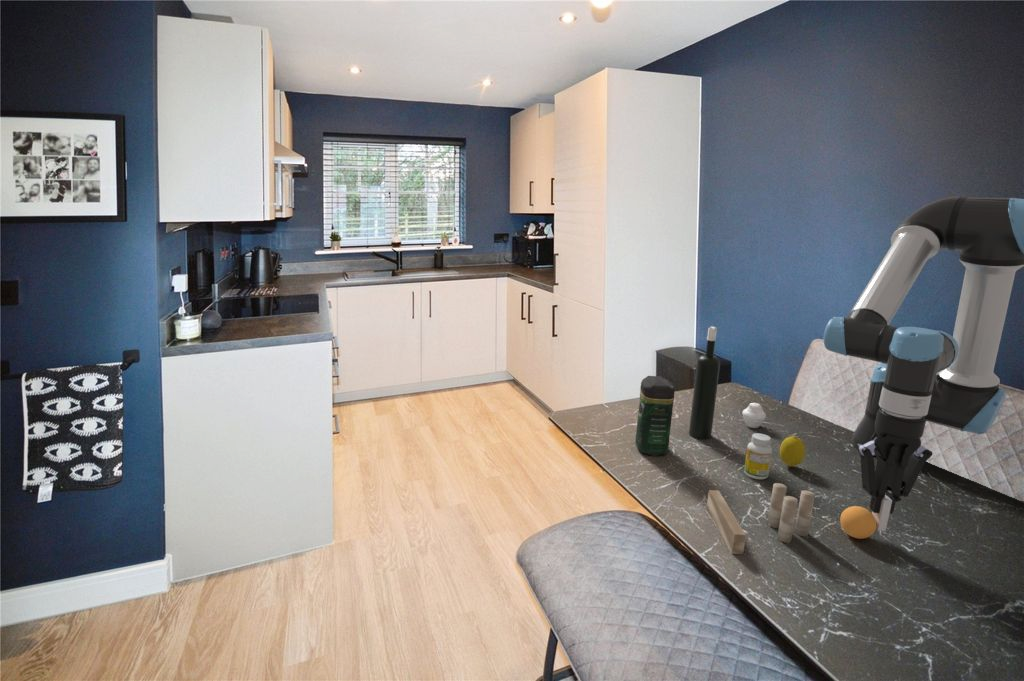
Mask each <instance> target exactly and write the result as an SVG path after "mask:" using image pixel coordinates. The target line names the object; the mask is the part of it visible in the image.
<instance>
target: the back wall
mask: <svg viewBox="0 0 1024 681" xmlns="http://www.w3.org/2000/svg"><path fill="white" fill-rule="evenodd" d="M706 509H707V511H708V513H709V514H710V516H711V518H712V520H713V521H714V524H715V525H716V527H717V529H718V531H719V533H720V534H721V537H722V538H723V540H724V542H725V544H726V545H727V547H728V550H729V551H730V553H731V554H733V555H744V551H745V550H744V549H745V543H746V537H747V535H746V533H745V532H744V529H743V527H741V524H740V523H739V522H738V520H737V518H736V517H735V514H734V513H733V512H732V510H731V508H730V507H729V505H728V504H727V501H726V500H725V498H724V497H723V495H722V494H721V491H720V490H719V489H717V490H713V489H709V490H708V494H707V502H706Z"/></svg>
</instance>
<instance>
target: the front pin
mask: <svg viewBox="0 0 1024 681" xmlns="http://www.w3.org/2000/svg"><path fill="white" fill-rule="evenodd" d="M815 498H816V494H815V493H814V492H812V491H810V490H804V489H803V490H801V491H800V497H799V501H798V502H799V503H798V506H797V512H796V518H795V520H796V521H795V524H794V525H795V526H794V530H793V533H794V534H796V535H797V536H801V537H808V536H809V530H810V525H811V520H812V514H813V509H814V503H815Z"/></svg>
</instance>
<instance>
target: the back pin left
mask: <svg viewBox="0 0 1024 681" xmlns="http://www.w3.org/2000/svg"><path fill="white" fill-rule="evenodd" d="M798 502H799V500H798V498H796V497H794V496H792V495H791V496H790V495H785V497H784V501H783V507H782V513H781V519H780V525H779V528H778V533H777V536H776V537H777V540H778V541H779V542H782V543H785V544H790V543H791V542H792V538H793V533H794V528H795V526H794V525H795V522H796V521H795V520H796V517H797V511H798V505H799V503H798Z"/></svg>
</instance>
